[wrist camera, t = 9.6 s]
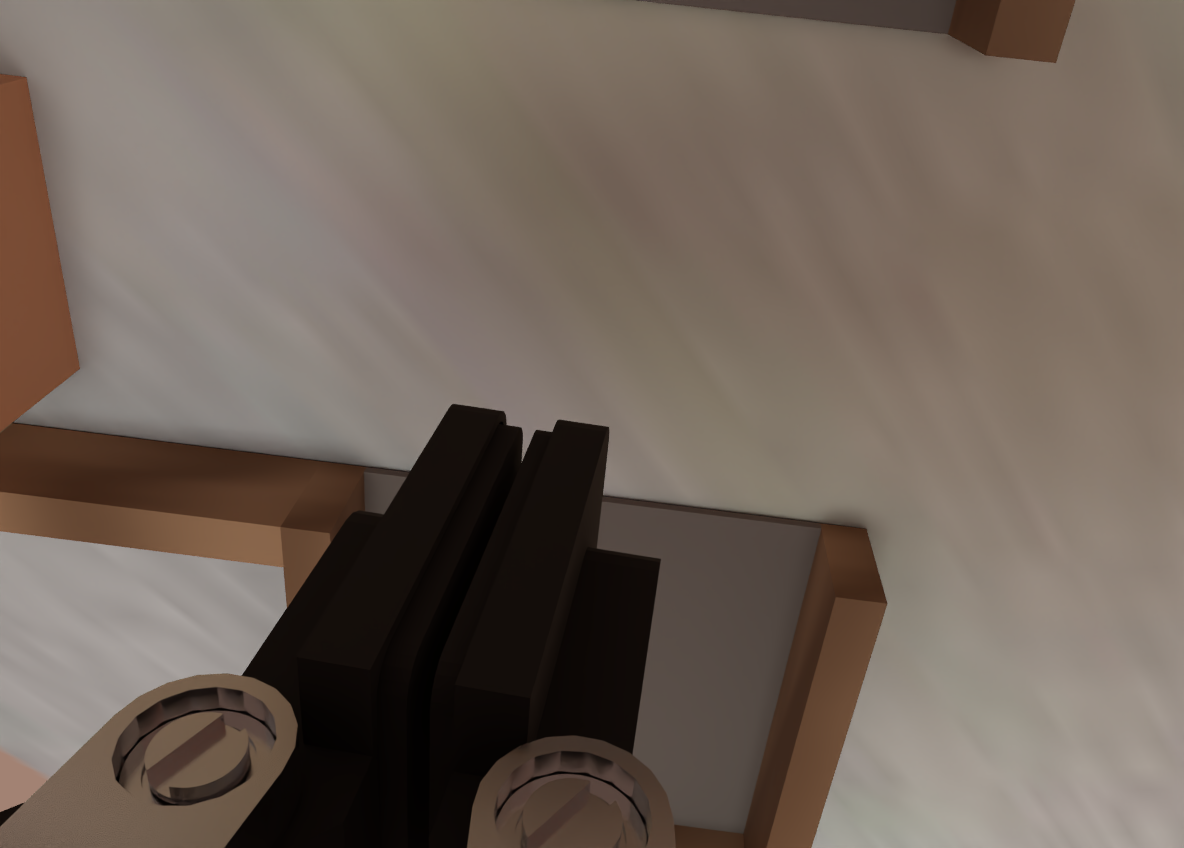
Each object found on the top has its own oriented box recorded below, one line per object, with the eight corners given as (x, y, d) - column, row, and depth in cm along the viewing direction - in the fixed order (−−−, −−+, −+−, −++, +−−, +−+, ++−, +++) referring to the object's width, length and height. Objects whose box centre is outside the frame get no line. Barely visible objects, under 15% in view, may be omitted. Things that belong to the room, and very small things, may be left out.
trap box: (1307, -1026, 11) (1469, -1264, 8) (773, 856, 26) (780, 944, 24) (-893, -1192, 11) (-1268, -1448, 9) (-133, 734, 27) (-205, 808, 25)
